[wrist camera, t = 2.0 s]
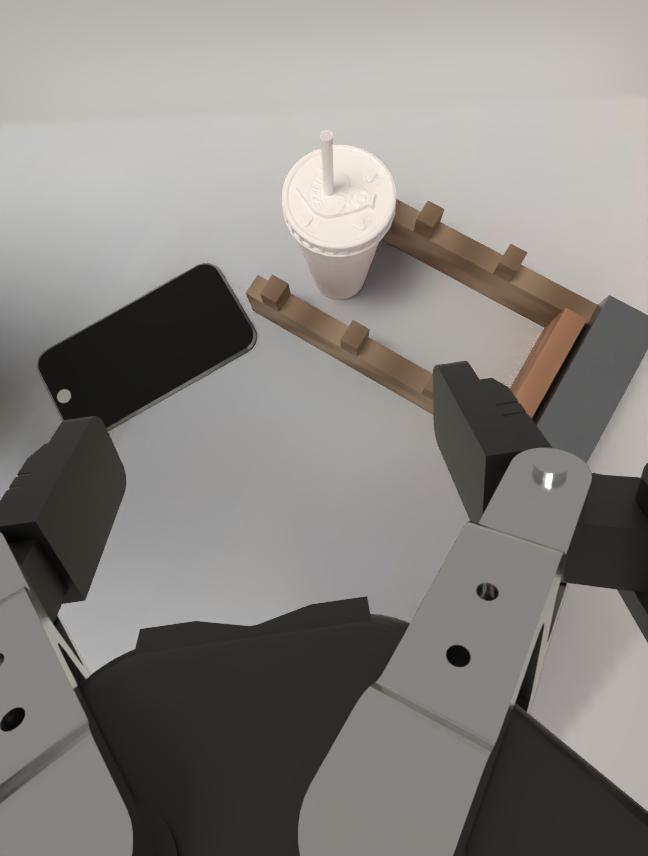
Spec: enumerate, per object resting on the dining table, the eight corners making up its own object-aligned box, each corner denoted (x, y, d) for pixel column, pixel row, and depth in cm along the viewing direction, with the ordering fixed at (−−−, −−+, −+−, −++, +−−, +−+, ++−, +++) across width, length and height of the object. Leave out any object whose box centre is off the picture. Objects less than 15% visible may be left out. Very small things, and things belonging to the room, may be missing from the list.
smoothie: (306, 228, 39) (286, 68, 25) (391, 243, 38) (418, 88, 24) (287, 308, 38) (255, 187, 24) (374, 324, 37) (393, 210, 23)
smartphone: (29, 357, 37) (211, 255, 38) (35, 360, 38) (213, 260, 39) (75, 448, 36) (262, 341, 37) (80, 449, 37) (263, 344, 38)
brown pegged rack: (253, 310, 38) (241, 283, 33) (332, 191, 39) (330, 150, 35) (525, 468, 35) (552, 460, 31) (599, 334, 36) (635, 308, 32)
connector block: (502, 454, 35) (525, 445, 31) (577, 322, 37) (609, 295, 32) (549, 481, 35) (579, 476, 30) (622, 346, 36) (661, 322, 32)
